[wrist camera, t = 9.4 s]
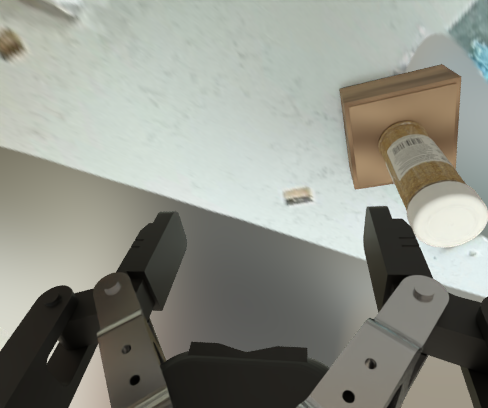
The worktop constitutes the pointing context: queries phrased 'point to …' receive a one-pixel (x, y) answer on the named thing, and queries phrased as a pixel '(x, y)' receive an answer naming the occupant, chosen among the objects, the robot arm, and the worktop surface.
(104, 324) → the robot arm
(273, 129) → the worktop surface
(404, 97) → the walnut block
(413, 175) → the sprinkles bottle
